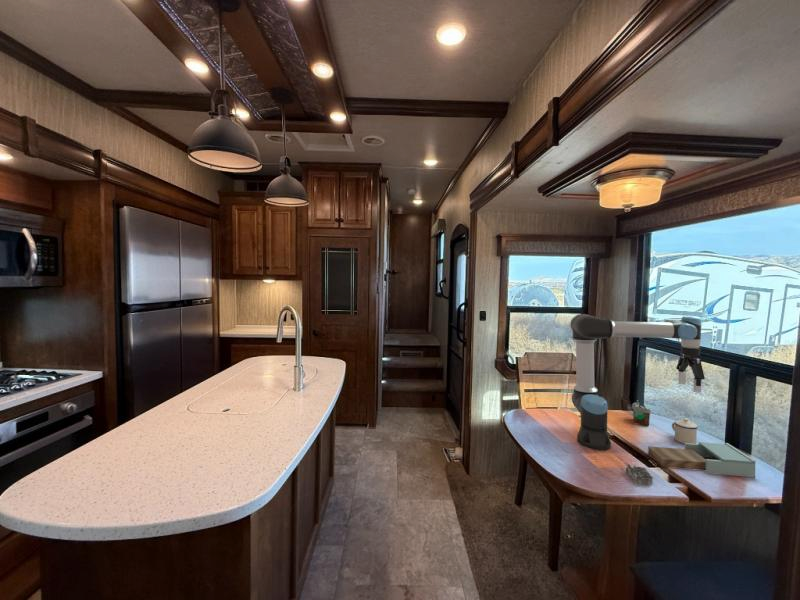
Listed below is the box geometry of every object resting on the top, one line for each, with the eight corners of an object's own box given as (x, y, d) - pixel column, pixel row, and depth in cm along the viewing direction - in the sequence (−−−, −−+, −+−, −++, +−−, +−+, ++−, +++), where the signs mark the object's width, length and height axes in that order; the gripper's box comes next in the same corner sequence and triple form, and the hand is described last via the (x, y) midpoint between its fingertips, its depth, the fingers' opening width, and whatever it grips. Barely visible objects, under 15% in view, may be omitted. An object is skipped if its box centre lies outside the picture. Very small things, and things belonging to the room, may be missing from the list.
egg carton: (623, 470, 148) (623, 461, 148) (643, 473, 146) (643, 463, 146) (633, 484, 137) (633, 474, 137) (655, 487, 135) (655, 477, 135)
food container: (627, 418, 204) (627, 401, 203) (638, 418, 203) (638, 402, 203) (638, 426, 192) (638, 409, 191) (650, 427, 191) (650, 409, 190)
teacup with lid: (702, 444, 170) (702, 421, 169) (685, 445, 169) (686, 422, 168) (679, 434, 182) (680, 412, 181) (664, 435, 181) (664, 413, 180)
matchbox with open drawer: (707, 472, 145) (707, 456, 145) (684, 454, 160) (684, 439, 160) (754, 477, 141) (755, 460, 141) (727, 457, 157) (727, 443, 156)
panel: (662, 467, 150) (662, 459, 150) (648, 454, 162) (648, 446, 162) (709, 471, 147) (709, 462, 146) (691, 457, 158) (691, 449, 158)
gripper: (715, 351, 159) (713, 396, 160) (685, 342, 183) (684, 381, 184) (696, 351, 161) (694, 395, 162) (669, 342, 185) (668, 380, 186)
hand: (689, 388), depth 173 cm, fingers open, 13 cm apart
